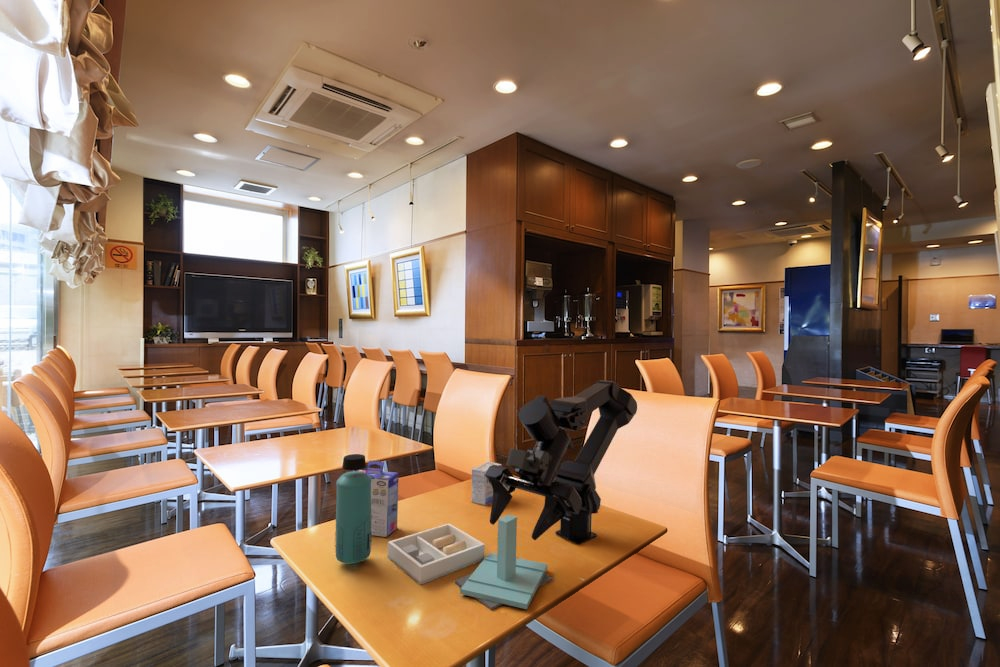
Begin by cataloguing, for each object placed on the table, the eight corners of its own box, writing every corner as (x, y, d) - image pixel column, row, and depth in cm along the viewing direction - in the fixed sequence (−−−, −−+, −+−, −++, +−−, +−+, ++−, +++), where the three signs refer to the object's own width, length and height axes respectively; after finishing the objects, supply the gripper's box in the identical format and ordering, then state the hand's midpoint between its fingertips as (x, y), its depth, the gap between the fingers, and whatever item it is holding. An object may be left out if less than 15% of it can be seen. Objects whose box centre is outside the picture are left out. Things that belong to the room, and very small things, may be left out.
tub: (448, 537, 98) (449, 523, 98) (484, 559, 88) (484, 544, 88) (387, 557, 88) (387, 541, 88) (420, 584, 79) (420, 567, 79)
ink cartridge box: (398, 527, 102) (400, 461, 102) (387, 538, 97) (389, 468, 96) (357, 522, 104) (358, 457, 104) (344, 533, 99) (345, 464, 98)
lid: (489, 556, 89) (490, 500, 89) (547, 568, 85) (548, 509, 85) (460, 593, 76) (461, 528, 76) (526, 609, 73) (528, 540, 72)
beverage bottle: (371, 569, 84) (374, 459, 84) (332, 574, 82) (334, 461, 82) (371, 552, 90) (373, 450, 90) (334, 556, 88) (336, 451, 88)
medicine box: (485, 506, 115) (485, 471, 115) (470, 502, 118) (471, 468, 118) (502, 497, 122) (503, 464, 122) (488, 493, 124) (489, 461, 124)
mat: (514, 558, 89) (514, 556, 89) (552, 580, 82) (552, 577, 82) (454, 582, 80) (454, 580, 80) (491, 610, 73) (491, 607, 73)
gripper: (491, 423, 91) (451, 495, 83) (575, 439, 80) (537, 524, 71) (515, 454, 98) (479, 524, 89) (595, 473, 86) (563, 555, 78)
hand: (511, 531), depth 82 cm, fingers open, 9 cm apart
